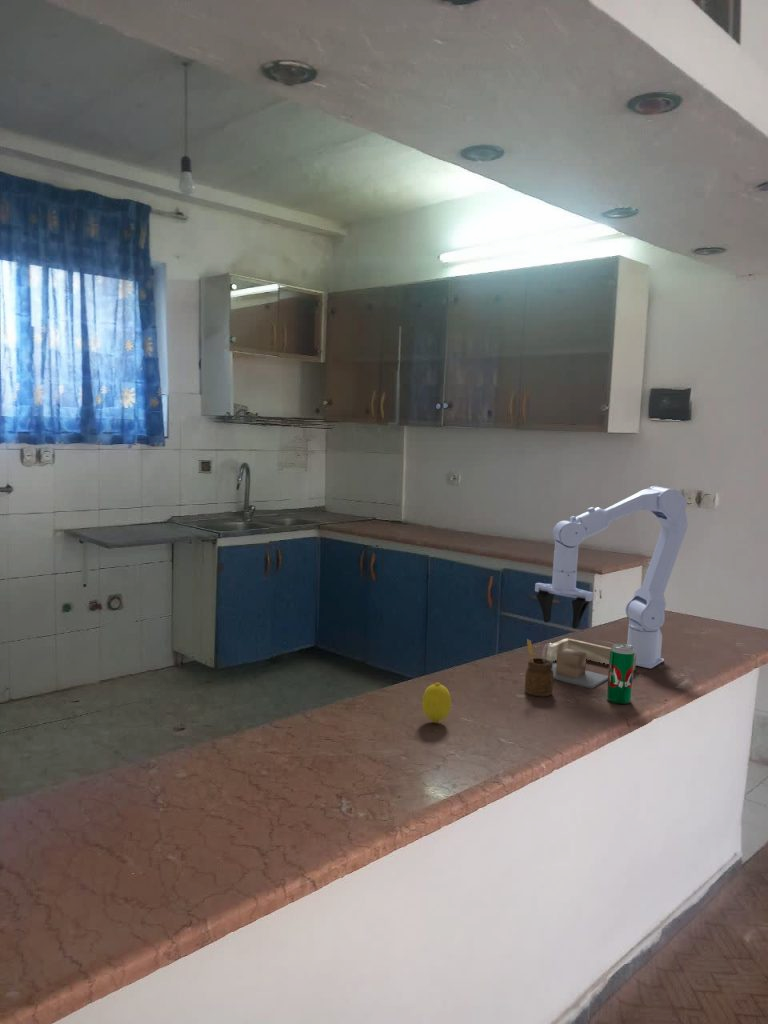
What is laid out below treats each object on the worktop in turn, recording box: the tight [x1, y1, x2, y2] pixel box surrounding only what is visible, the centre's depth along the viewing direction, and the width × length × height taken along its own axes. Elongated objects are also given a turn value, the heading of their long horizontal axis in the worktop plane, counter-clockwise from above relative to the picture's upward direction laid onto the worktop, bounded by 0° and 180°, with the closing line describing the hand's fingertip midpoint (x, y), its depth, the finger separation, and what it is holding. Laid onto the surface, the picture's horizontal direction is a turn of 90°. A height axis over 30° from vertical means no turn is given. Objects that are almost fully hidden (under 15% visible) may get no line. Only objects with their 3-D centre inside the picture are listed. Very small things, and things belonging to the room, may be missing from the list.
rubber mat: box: [552, 662, 608, 690], centre depth 182 cm, size 10×15×1 cm, turn 51°
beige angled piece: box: [546, 637, 637, 671], centre depth 190 cm, size 10×18×4 cm, turn 51°
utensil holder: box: [524, 638, 554, 698], centre depth 169 cm, size 6×6×12 cm
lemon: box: [421, 682, 452, 724], centre depth 149 cm, size 6×6×8 cm
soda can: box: [606, 643, 635, 705], centre depth 165 cm, size 5×5×12 cm
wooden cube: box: [555, 649, 587, 679], centre depth 181 cm, size 5×5×5 cm
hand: (561, 624), depth 191 cm, fingers open, 7 cm apart
